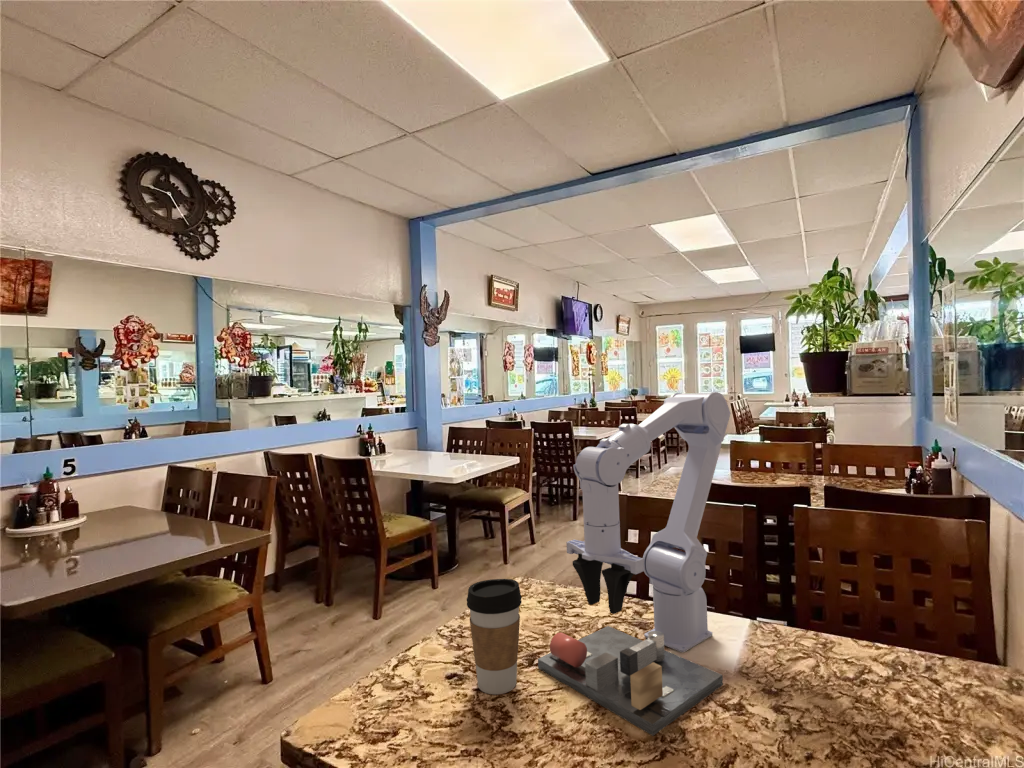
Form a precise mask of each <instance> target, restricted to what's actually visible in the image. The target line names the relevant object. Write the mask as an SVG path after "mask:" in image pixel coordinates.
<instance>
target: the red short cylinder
mask: <svg viewBox="0 0 1024 768" xmlns="http://www.w3.org/2000/svg"><path fill="white" fill-rule="evenodd" d="M578 640H579V639H577V638H574V637H572V636H570V635H567V634H565V633H564V632H562V631H561V632H557V633H555V634H554V635H553V636H552V638H551V641H550V643H549V651H550V652H549V653H551V654H552V655H554V656H555V657H557V658H559V659H561V660H563V661H565V662H566V663H568V664H570V665H572V666H574V667H580V666H581V665H582V664H583V663H584V661H585V659H586V656H587V647H586V645H585V644H584V643H582V642H580V641H578Z"/></svg>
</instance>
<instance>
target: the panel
mask: <svg viewBox="0 0 1024 768" xmlns="http://www.w3.org/2000/svg"><path fill="white" fill-rule="evenodd" d="M577 640H578V641H580V642H582V643H584V644H585V645H586V647H587V656H586V659H585V661H584V663H583V664H582V665H581V666H580V667H574V666H572V665H570V664H568V663H566V662H565V661H563V660H561V659H559V658H557V657H555V656H554V655H552V654H551V652H549V653H547V654H545V655H543V656H541V657H539V658H537V668H538V669H539V670H540V671H542V672H544V673H545V674H547V675H549V676H550V677H552V678H554V679H555V680H558V681H559V682H560V683H562V684H565V685H566V686H567V687H569V688H571V689H573V690H574V691H576V692H578V693H579V694H581V695H583V696H585V697H586V698H587V699H590V700H591V701H593V702H595V703H596V704H598V705H600V706H602V707H603V708H605V709H607V710H608V711H610V712H612V713H613V714H615V715H617V716H619V717H620V718H622V719H624V720H626V721H627V722H628V723H630V724H632V725H634V726H635V727H637V728H639V729H640V730H642V731H644V732H645V733H647V734H648V735H650V736H655V735H656V734H658V733H659V732H661V731H662V730H663V729H664V728H666V727H667V726H669V725H670V724H672V723H673V722H675V720H677V719H678V718H680V717H681V716H682V715H684V714H685V713H687V711H689V710H691V709H692V708H693V707H695V706H696V705H698V704H699V703H701V702H702V701H703V700H704V699H706V698H707V697H708V696H710V695H711V694H713V693H715V691H717V690H719V688H721V687H722V686H724V681H723V680H724V677H723V674H722V673H720V672H717V671H715V670H712V669H709V668H708V667H705V666H702V665H700V664H698V663H696V662H694V661H691V660H689V659H686V658H684V657H682V656H679V655H678V654H675V653H673V652H670V651H668V650H665V649H664V650H665V659H664V660H661V661H653V662H654V663H656V664H658V665H660V666H662V689H663V696H661V697H659V698H658V699H656V700H655V701H653V702H652V703H650V704H649V705H647V706H646V707H644V708H643V709H641V710H639V709H637V708H635V707H633V706H631V679H630V676H628V675H626V674H624V673H622V672H621V669H620V651H622V650H624V649H626V648H631V647H633V646H635V645H637V644H639V643H640V642H642V641H643V640H642V639H640V638H638V637H635V636H633V635H630V634H628V633H625V632H624V631H621V630H620V629H616V628H614V627H612V626H609V625H607V626H604V627H603V628H601V629H599V630H596V631H594V632H592V633H590V634H588V635H586V636H584V637H582V638H579V639H577ZM653 662H652V663H653ZM650 664H651V663H650ZM648 665H649V664H648ZM648 665H646V666H648ZM646 666H645V667H646ZM643 668H644V667H643ZM641 669H642V668H641ZM641 669H639V670H641ZM639 670H638V671H639Z"/></svg>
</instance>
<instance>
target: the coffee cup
mask: <svg viewBox="0 0 1024 768" xmlns="http://www.w3.org/2000/svg"><path fill="white" fill-rule="evenodd" d="M467 589H468V590H467V596H466V607H467V608H468V610H469V613H470V616H469V625H470V632H471V641H472V647H473V648H472V649H473V657H474V663H475V671H476V680H477V686H478V689H479V690H480V691H481V692H482V693H485V694H489V695H502V694H506V693H509V692H511V691H513V690H514V688H515V687H516V685H517V681H518V679H517V677H518V676H517V675H518V674H517V673H518V658H519V657H518V656H519V639H520V621H521V619H520V618H521V616H520V606H521V605H522V598H523V597H522V594H521V590H520V584H519V583H518V581H517V580H515V579H512V578H511V579H510V578H494V579H487V580H480V581H478V582H477V581H476V582H475V583H472V584H471V585H470V586H469V587H468V588H467Z"/></svg>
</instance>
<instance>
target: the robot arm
mask: <svg viewBox="0 0 1024 768" xmlns="http://www.w3.org/2000/svg"><path fill="white" fill-rule="evenodd" d="M663 400H664V401H663V404H662V405H661V406H660V407H658V408H657V409H656V410H655V411H654V412H652V413H651V414H650V415H648V416H647V417H646V418H645V419H644V420H643V421H641V422H640V423H639V424H634V423H622V424H620V425H619V426H618V430H617V431H616V432H614V433H613V434H611V435H610V436H608V437H607V438H602V439H600V440H599V443H598V444H597V446H587V447H584V448H583V449H582V450H580V452H579V454H577V456H576V461H575V464H573V471H574V474H575V476H576V478H577V479H578V480H579V488H580V489H581V491H582V513H583V516H582V517H583V537H584V538H583V540H578V539H571V540H568V541H566V553H567V554H570V555H573V554H574V555H577V559H574V560H572V566H573V568H574V570H575V571H576V573H577V574H578V577H579V580H580V581H581V584H582V587H583V589H584V593H585V597H586V600H587V604H588V605H590V606H592V605H595V604H597V603H600V601H601V576H602V577H603V578H604V582H605V586H606V590H607V591H606V592H607V599H608V600H607V601H608V609H609V613H610V614H612V615H615V614H617V613H620V612H622V611H623V610H622V609H623V606H624V601H625V600H624V599H625V597H626V592H627V590H628V586H629V584H630V582H631V580H632V577H633V576H634V575H638V574H641V573H643V572H644V574H645V575H646V576H647V577H648V578H649V584H650V585H651V586H652V598H653V602H652V603H653V625H654V628H653V629H651V630H650V629H649V631H647V632H645V633H643V635H644V637H645V638H646V639H648V633H649V632H651V631H659V632H662V633H663V634H664V647H665V646H666V647H668V648H669V649H673V650H675V651H678V652H680V653H685V652H687V651H688V650H689V649H691V648H693V647H695V646H697V645H698V644H700V643H702V642H704V641H705V640H707V639H708V638H711V636H713V632H712V631H711V630H709V628H708V627H709V626H708V610H707V609H708V606H707V602H708V601H707V595H706V593H705V591H704V589H703V587H702V585H703V584H704V582H705V579H706V575H707V574H706V572H707V571H706V560H707V556H708V552H707V550H706V548H705V547H704V546H703V544H702V543H701V541H700V540H699V539H698V534H699V530H700V526H701V522H702V519H703V516H704V512H705V507H706V505H707V501H708V498H709V495H710V494H709V493H710V490H711V486H712V482H713V478H714V475H715V472H716V468H717V464H718V460H719V456H720V452H721V448H722V444H723V441H724V439H725V436H726V432H727V429H728V424H729V422H730V421H729V420H730V417H731V410H730V408H729V405H728V402H727V400H726V398H725V396H724V395H723V394H722V393H721V392H718V391H715V392H714V391H713V392H700V393H699V392H697V393H696V392H695V393H694V392H693V393H685V392H684V393H682V392H674V393H673V394H671V395H670V396H668V397H667V398H664V399H663ZM673 428H674V429H675V430H676V432H677V434H678V435H679V436H680V438H681V439H682V440H684V441H685V442H686V443H687V445H688V450H687V453H686V457H685V460H684V464H683V466H682V467H683V468H682V470H681V475H680V479H679V482H678V484H677V488H676V491H675V495H674V498H673V503H672V506H671V509H670V512H669V513H670V514H669V517H668V520H667V524H666V526H665V528H663V529H661V530H659V531H657V532H656V533H654V534H653V535H652V538H651V541H650V543H649V545H648V546H647V547H646V549H645V551H644V553H643V556H642V557H639V556H637V555H634V554H633V553H630V552H629V551H627V550H625V549H623V548H622V547H621V546H622V545H621V527H620V526H621V521H620V498H619V484H620V483H621V482H622V481H623V480H624V477H625V475H626V472H627V470H628V469H629V468H630V466H632V465H633V464H634V463H635V462H637V461H639V459H641V458H642V457H644V456H645V455H646V454H648V453H649V452H650V450H651V445H652V443H651V442H653V441H654V440H655V439H657V438H658V437H660V436H662V435H664V434H665V433H667V432H668V431H670V430H671V429H673ZM678 549H679V550H678ZM682 550H683V551H682ZM604 564H607V565H610V567H608V568H604V569H603V565H604Z"/></svg>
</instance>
